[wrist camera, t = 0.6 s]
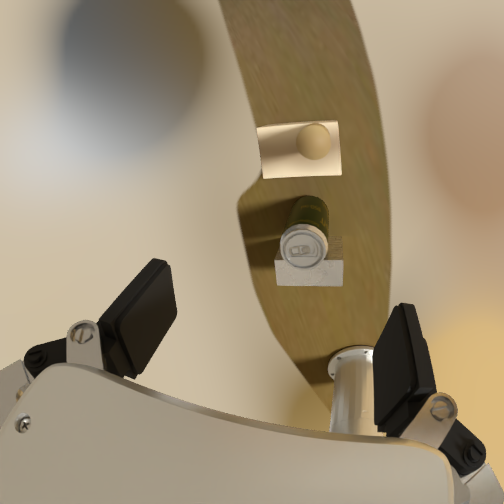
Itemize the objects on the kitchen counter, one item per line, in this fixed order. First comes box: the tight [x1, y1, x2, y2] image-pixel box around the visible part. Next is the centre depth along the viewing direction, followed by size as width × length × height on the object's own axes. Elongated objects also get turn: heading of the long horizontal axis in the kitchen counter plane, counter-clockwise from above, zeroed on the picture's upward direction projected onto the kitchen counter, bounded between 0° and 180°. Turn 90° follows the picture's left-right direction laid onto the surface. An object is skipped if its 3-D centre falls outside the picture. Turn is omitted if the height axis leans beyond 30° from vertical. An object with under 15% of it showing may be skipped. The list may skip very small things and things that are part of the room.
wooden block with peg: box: [257, 120, 342, 179], centre depth 30 cm, size 6×9×14 cm, turn 98°
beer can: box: [280, 196, 329, 270], centre depth 35 cm, size 5×5×12 cm
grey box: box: [274, 237, 343, 286], centre depth 40 cm, size 4×9×7 cm, turn 98°
